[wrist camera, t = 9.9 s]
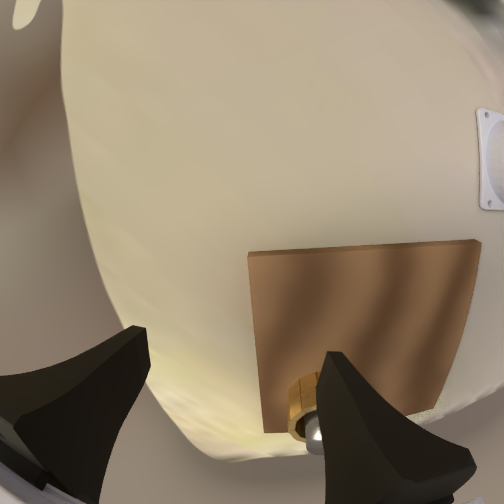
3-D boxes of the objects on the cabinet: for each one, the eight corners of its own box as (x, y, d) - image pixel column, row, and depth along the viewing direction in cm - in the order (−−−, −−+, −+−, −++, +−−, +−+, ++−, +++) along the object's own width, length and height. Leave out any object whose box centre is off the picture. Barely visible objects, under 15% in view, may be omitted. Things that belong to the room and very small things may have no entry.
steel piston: (339, 380, 21) (351, 431, 16) (335, 403, 22) (344, 452, 16) (302, 383, 21) (307, 436, 16) (301, 406, 22) (305, 456, 17)
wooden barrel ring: (357, 370, 20) (367, 400, 17) (343, 412, 22) (349, 441, 19) (290, 371, 21) (292, 403, 17) (284, 414, 22) (285, 444, 19)
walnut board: (474, 239, 17) (481, 242, 16) (430, 402, 23) (433, 408, 22) (248, 252, 19) (247, 256, 18) (264, 425, 24) (264, 433, 23)
